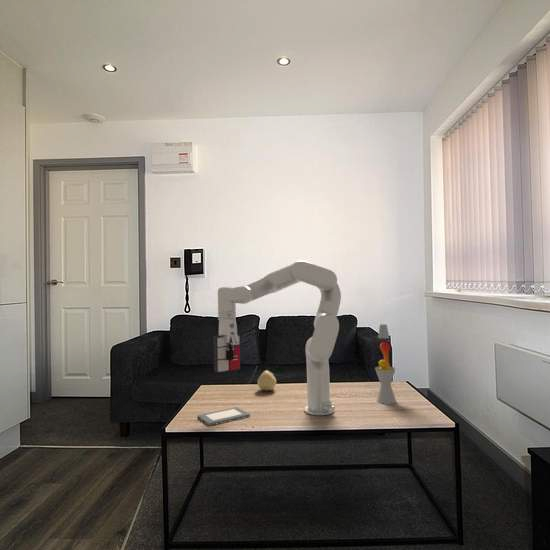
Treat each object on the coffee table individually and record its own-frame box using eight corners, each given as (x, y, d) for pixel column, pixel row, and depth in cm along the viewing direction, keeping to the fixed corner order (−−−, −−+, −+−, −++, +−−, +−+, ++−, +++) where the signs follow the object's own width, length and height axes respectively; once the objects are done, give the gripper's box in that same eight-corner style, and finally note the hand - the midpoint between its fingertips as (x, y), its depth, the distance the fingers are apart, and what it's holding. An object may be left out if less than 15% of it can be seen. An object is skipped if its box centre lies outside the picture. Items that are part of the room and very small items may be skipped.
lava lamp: (385, 397, 174) (382, 323, 176) (401, 401, 167) (397, 324, 168) (371, 400, 169) (368, 324, 171) (387, 405, 162) (384, 325, 163)
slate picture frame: (250, 416, 152) (249, 413, 152) (209, 426, 142) (209, 423, 142) (236, 409, 162) (236, 406, 162) (197, 417, 152) (197, 415, 153)
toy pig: (278, 387, 197) (277, 367, 198) (275, 393, 185) (274, 372, 186) (260, 387, 199) (259, 367, 199) (256, 393, 187) (255, 372, 187)
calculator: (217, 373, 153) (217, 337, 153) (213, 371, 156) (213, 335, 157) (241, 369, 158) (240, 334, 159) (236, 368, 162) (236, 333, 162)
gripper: (243, 316, 153) (244, 360, 152) (227, 314, 167) (227, 355, 166) (226, 317, 149) (227, 363, 148) (211, 315, 163) (212, 357, 162)
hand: (227, 358), depth 157 cm, fingers closed on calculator, 3 cm apart
